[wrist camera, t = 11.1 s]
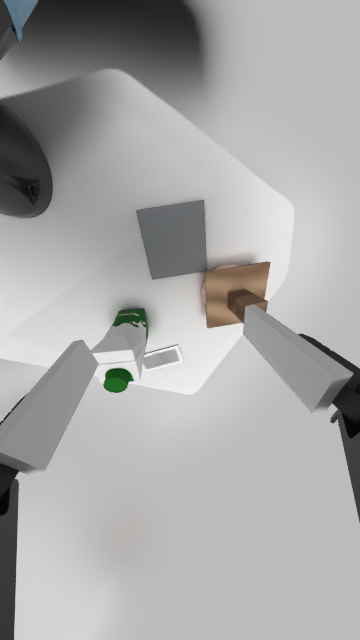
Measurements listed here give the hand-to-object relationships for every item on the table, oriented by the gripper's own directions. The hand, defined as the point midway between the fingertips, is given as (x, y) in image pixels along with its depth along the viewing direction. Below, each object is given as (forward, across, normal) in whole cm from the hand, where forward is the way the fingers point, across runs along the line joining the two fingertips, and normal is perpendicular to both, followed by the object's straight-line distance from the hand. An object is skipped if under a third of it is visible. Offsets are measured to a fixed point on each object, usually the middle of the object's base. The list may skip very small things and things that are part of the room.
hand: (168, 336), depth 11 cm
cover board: (+21, +15, -8) cm, 27 cm away
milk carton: (+28, -12, -12) cm, 32 cm away
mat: (+28, +4, +6) cm, 28 cm away
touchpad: (+28, -8, -28) cm, 40 cm away
